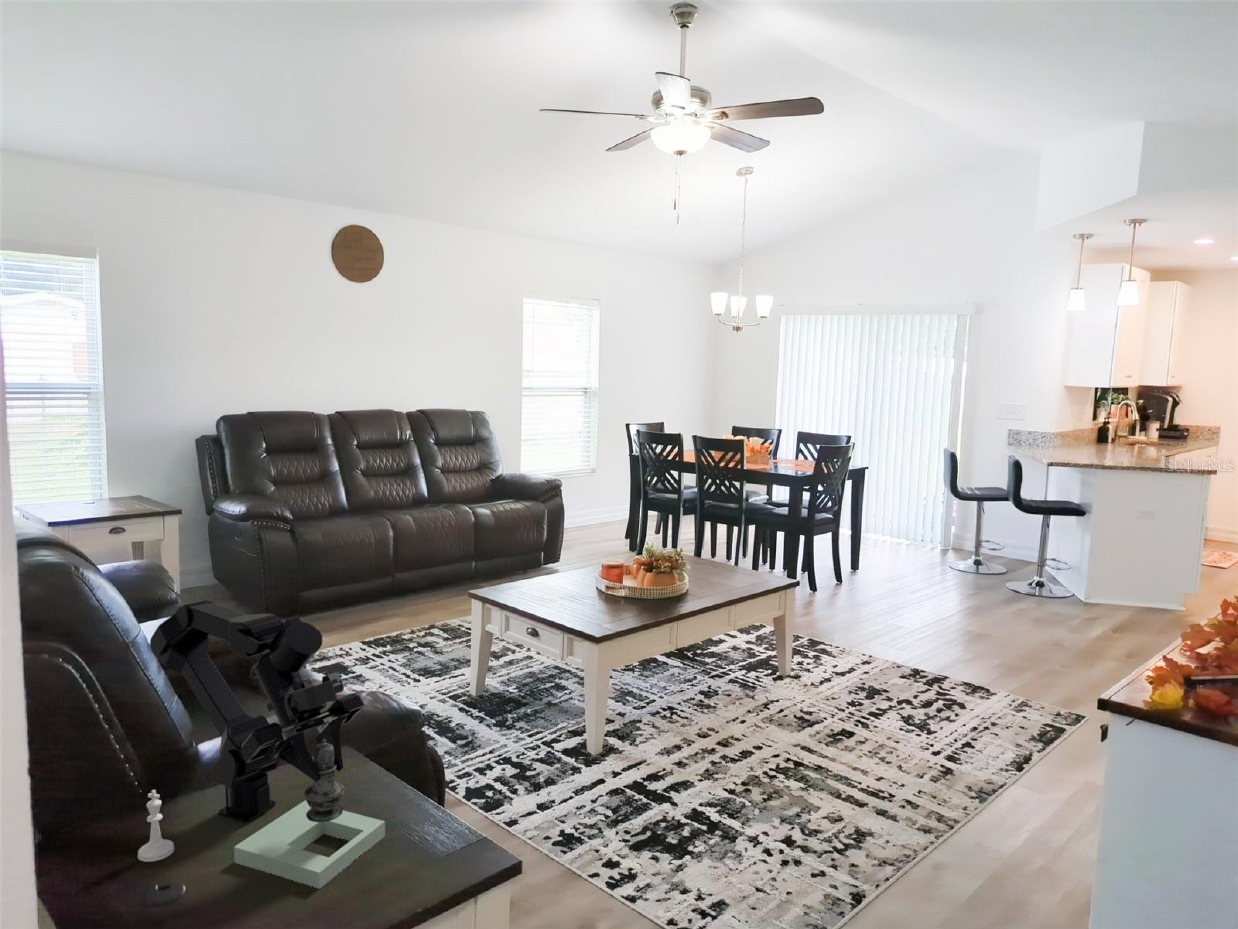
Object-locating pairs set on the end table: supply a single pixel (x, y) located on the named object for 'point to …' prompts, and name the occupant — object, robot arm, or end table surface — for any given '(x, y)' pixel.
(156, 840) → the chess piece
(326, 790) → the grey stone chess bishop
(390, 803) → the end table surface
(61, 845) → the end table surface
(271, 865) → the socket board
